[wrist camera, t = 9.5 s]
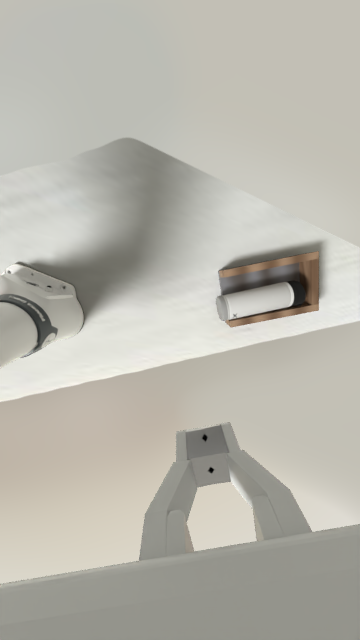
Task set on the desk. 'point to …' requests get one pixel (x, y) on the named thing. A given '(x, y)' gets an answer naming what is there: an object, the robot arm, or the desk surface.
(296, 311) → the u rest
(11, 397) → the desk surface
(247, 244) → the desk surface
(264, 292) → the travel mug
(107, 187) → the desk surface
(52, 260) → the desk surface
